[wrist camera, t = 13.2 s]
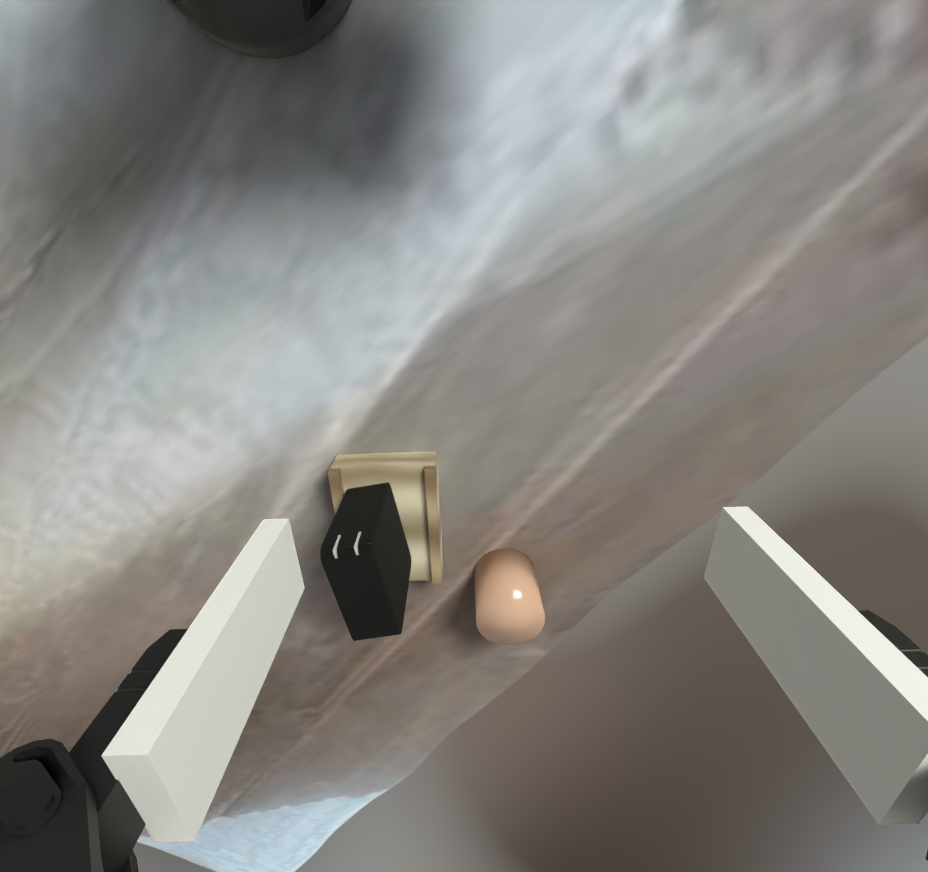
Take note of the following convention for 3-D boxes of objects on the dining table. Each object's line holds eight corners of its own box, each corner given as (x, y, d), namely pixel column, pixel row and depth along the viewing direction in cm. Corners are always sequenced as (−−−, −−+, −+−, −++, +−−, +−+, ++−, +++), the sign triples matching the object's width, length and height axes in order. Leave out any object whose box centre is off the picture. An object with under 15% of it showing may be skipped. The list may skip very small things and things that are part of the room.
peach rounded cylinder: (473, 549, 50) (475, 595, 43) (535, 547, 50) (546, 593, 43) (474, 596, 53) (476, 646, 46) (533, 594, 53) (543, 644, 46)
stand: (337, 454, 44) (327, 472, 41) (436, 451, 44) (435, 469, 41) (355, 563, 50) (347, 587, 47) (443, 561, 50) (441, 585, 47)
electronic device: (374, 565, 47) (353, 646, 37) (347, 485, 42) (316, 554, 33) (413, 559, 46) (401, 639, 37) (389, 478, 42) (370, 545, 33)
